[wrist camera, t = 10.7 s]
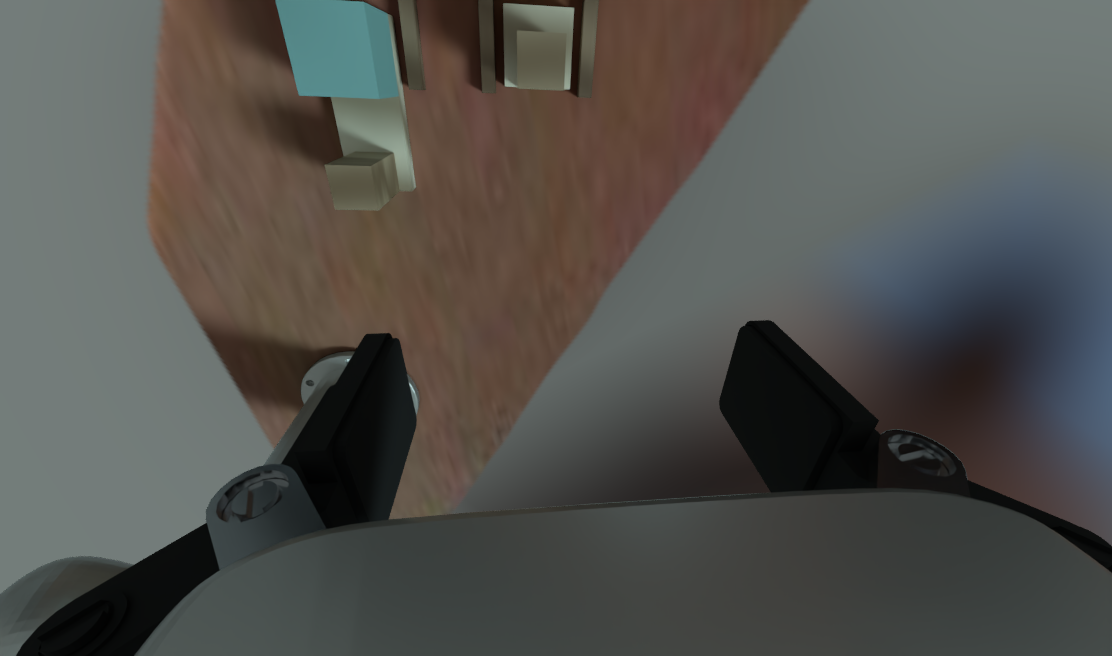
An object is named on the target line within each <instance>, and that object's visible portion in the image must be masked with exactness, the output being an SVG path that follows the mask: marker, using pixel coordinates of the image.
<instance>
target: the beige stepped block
mask: <svg viewBox="0 0 1112 656" xmlns="http://www.w3.org/2000/svg"><path fill="white" fill-rule="evenodd" d="M388 21H389V28H390V36H391V43H392V50H393V57H394V65H395V72H396V79H397V86H398V94H399V96H398V97H390V98H383V99H368V98H345V97H331V100H332V105H333V109H334V114H335V119H336V123H337V128H338V133H339V137H340V142H341V147H342V152H343V156H344V157H341V158H339V159H337V160H334V161H332V162H330V163H328V164H325V169H326V173H327V177H328V181H329V186H330V190H331V194H332V198H333V202H334V207H335V209H338V210H380V209H381V208H382V207H383V206H384V205H385V204H386V203H387V202H388V201H389V200H390V199H392V198H393V197H394V196H395V195H396V194H397V193H398V192H399V191H413V190H414V189H415V188H416V185H415V177H414V170H413V162H412V155H411V147H410V139H409V132H408V124H407V117H406V109H405V102H404V94H403V86H402V79H401V71H400V64H399V56H398V49H397V41H396V33H395V26H394V18H393V16H391V15H389V14H388Z"/></svg>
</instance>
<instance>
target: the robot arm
mask: <svg viewBox="0 0 1112 656" xmlns="http://www.w3.org/2000/svg"><path fill="white" fill-rule="evenodd" d="M301 398H302V401H303V403H304V405H303V407H302V408H301V410H300V411H299V413H298V414H297V416H296V417H295V419H294V420H293V422H292V423H291V425H290V426H289V428H288V429H287V431H286V432H285V434H284V435H283V437H282V438H281V440H280V441H279V443H278V444H277V446H276V447H275V449H274V450H273V452H272V453H271V455H270V457H269V458H268V459H267V461H266V462H265V464H264V465H263V466H259V467H256V468H254V469H251V470H249V471H246V472H244V473H242V474H241V475H239V476H237V477H235V478H234V479H232V480H231V481H229V482H228V483H227V484H226V485H224V486H223V487H222V488H221V489H220V490H219V491H218V492H217V493H216V494H215V496H214V497H213V498H212V499H211V501H210V503H209V505H208V507H207V509H206V522H207V523H206V524H204V525H202V526H200V527H199V528H197V529H195V530H194V531H192V532H190V533H188V534H186V535H185V536H183V537H181V538H180V539H178V540H176V541H174V542H173V543H171V544H169V545H167V546H166V547H164V548H163V549H161V550H159V551H157V552H155V553H154V554H152V555H150V556H148V557H147V558H145V559H143V560H142V561H140V562H138V563H137V564H135V565H133V564H129V563H125V562H121V561H116V560H112V559H106V558H101V557H91V556H79V557H69V558H64V559H60V560H56V561H53V562H51V563H48V564H46V565H43V566H41V567H39V568H37V569H36V570H34V571H32V572H30V573H28V574H27V575H25V576H24V577H22V578H21V579H19V580H18V581H16V582H15V583H14V584H12V585H11V586H10V587H8V588H7V589H6V590H5V591H3V592H2V593H1V594H0V656H1112V546H1111V545H1109V544H1108V543H1107V542H1106V541H1105V540H1103V539H1102V538H1101V537H1099V536H1098V535H1096V534H1094V533H1092V532H1091V531H1089V530H1086V529H1084V528H1082V527H1079V526H1077V525H1074V524H1072V523H1070V522H1068V521H1065V520H1063V519H1060V518H1058V517H1055V516H1053V515H1051V514H1048V513H1046V512H1043V511H1041V510H1039V509H1036V508H1034V507H1031V506H1029V505H1027V504H1024V503H1022V502H1019V501H1017V500H1014V499H1012V498H1010V497H1007V496H1005V495H1002V494H1000V493H998V492H995V491H993V490H990V489H988V488H985V487H983V486H980V485H978V484H976V483H973V482H971V481H969V480H967V476H966V471H965V468H964V466H963V464H962V462H961V461H960V460H959V459H958V458H957V457H956V455H955V454H953V453H952V452H951V451H950V450H948V449H947V448H946V447H944V446H943V445H941V444H939V443H938V442H936V441H934V440H932V439H930V438H928V437H925V436H923V435H921V434H918V433H914V432H910V431H906V430H897V429H895V430H887V431H885V432H884V433H882V434H881V435H880V434H879V433H878V432H877V431H876V430H875V427H876V425H877V423H878V421H879V420H878V419H877V418H876V417H874V416H873V415H872V414H871V413H870V412H869V411H868V410H867V409H866V408H865V407H864V406H863V405H862V404H861V403H859V402H858V401H857V400H856V399H855V398H854V397H853V396H852V395H851V394H850V393H849V392H848V391H847V390H846V389H845V388H843V387H842V386H841V385H840V384H839V383H838V382H837V381H836V380H835V379H834V378H833V377H832V376H831V375H829V374H828V373H827V372H826V371H825V370H824V369H823V368H822V367H821V366H820V365H819V364H818V363H817V362H816V361H814V360H813V359H812V358H811V357H810V356H809V355H808V354H807V353H806V352H805V351H804V350H803V349H801V347H799V346H798V345H797V344H796V343H795V342H794V341H793V340H792V339H791V338H790V337H789V336H788V335H787V334H785V333H784V332H783V331H782V330H781V329H780V328H779V327H778V326H777V325H776V324H775V323H774V322H772V321H769V320H766V321H749V322H747V323H746V325H745V326H743V327H741V328H740V330H739V332H738V336H737V340H736V343H735V347H734V350H733V354H732V357H731V361H730V364H729V368H728V371H727V375H726V379H725V382H724V386H723V389H722V393H721V396H720V401H719V405H720V410H721V412H722V414H723V416H724V417H725V419H726V420H727V422H728V424H729V425H730V427H731V429H732V430H733V432H734V433H735V435H736V437H737V438H738V440H739V442H740V443H741V445H742V446H743V448H744V450H745V451H746V453H747V454H748V456H749V458H750V459H751V461H752V462H753V464H754V466H755V467H756V469H757V471H758V472H759V474H760V475H761V477H762V479H763V480H764V482H765V484H766V485H767V487H768V488H769V490H770V491H771V493H757V494H741V495H725V496H707V497H691V498H677V499H660V500H645V501H630V502H616V503H600V504H586V505H571V506H556V507H542V508H529V509H514V510H501V511H486V512H473V513H459V514H447V515H436V516H424V517H413V518H402V519H390V520H388V519H389V516H390V512H391V509H392V506H393V502H394V499H395V496H396V492H397V489H398V486H399V482H400V479H401V476H402V472H403V469H404V465H405V462H406V459H407V455H408V452H409V449H410V445H411V442H412V439H413V435H414V432H415V428H416V420H417V419H416V415H417V411H418V408H419V394H418V390H417V388H416V385H415V383H414V382H413V380H412V379H411V378H410V376H409V375H408V374H407V372H406V367H405V363H404V358H403V354H402V349H401V345H400V341H399V339H397V338H392V336H391V334H389V333H380V334H366V335H365V336H364V338H363V339H362V341H361V343H360V344H359V346H358V348H357V349H356V351H355V352H352V351H347V352H339V353H335V354H331V355H328V356H326V357H324V358H322V359H320V360H318V361H317V362H316V363H315V364H314V365H313V366H311V368H310V369H309V371H308V372H307V373H306V375H305V376H304V378H303V380H302V384H301Z"/></svg>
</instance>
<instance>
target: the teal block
mask: <svg viewBox="0 0 1112 656" xmlns="http://www.w3.org/2000/svg"><path fill="white" fill-rule="evenodd" d="M275 1H276V5H277V9H278V13H279V17H280V21H281V25H282V29H283V33H284V37H285V41H286V45H287V49H288V53H289V57H290V61H291V65H292V69H293V73H294V77H295V82H296V86H297V90H298V94H299V95H300V96H323V97H345V98H368V99H383V98H390V97H398V96H399V94H398V86H397V79H396V72H395V65H394V57H393V50H392V43H391V36H390V28H389V21H388V14H387V13H385V12H383V11H381V10H379V9H377V8H375V7H373V6H371V5H369V4H367V3H365V2H359V1H343V0H275Z"/></svg>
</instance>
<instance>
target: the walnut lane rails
mask: <svg viewBox="0 0 1112 656" xmlns="http://www.w3.org/2000/svg"><path fill="white" fill-rule="evenodd" d="M598 2H599V0H583V3H582V19H581V36H580V53H579V69H578V86H577V97H585V98H591V94H592V81H593V68H594V54H595V41H596V28H597V15H598ZM398 5H399V13H400V21H401V29H402V37H403V45H404V53H405V61H406V69H407V77H408V85H409V89H414V90H426V88H425V79H424V70H423V60H422V51H421V42H420V32H419V23H418V14H417V4H416V0H398ZM478 10H479V32H480V54H481V76H482V93H496V72H495V38H494V4H493V0H478Z"/></svg>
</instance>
